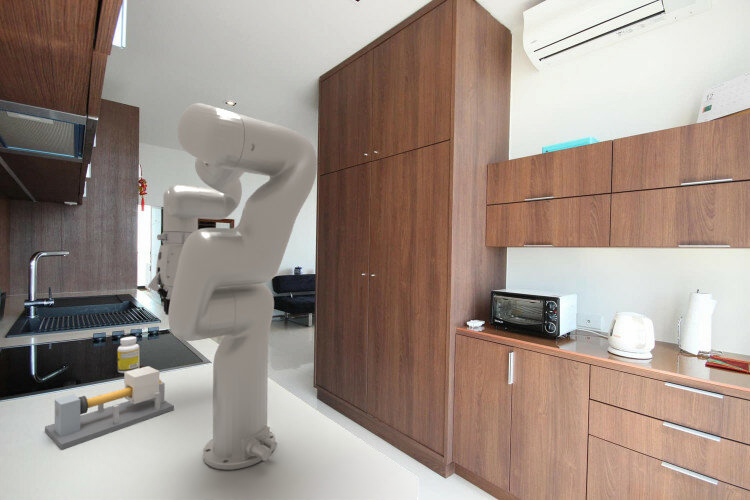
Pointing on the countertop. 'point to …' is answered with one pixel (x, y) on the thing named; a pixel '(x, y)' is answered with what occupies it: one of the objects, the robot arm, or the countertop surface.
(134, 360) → the supplement bottle
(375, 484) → the countertop surface
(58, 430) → the linear actuator
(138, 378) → the white sliding carriage
